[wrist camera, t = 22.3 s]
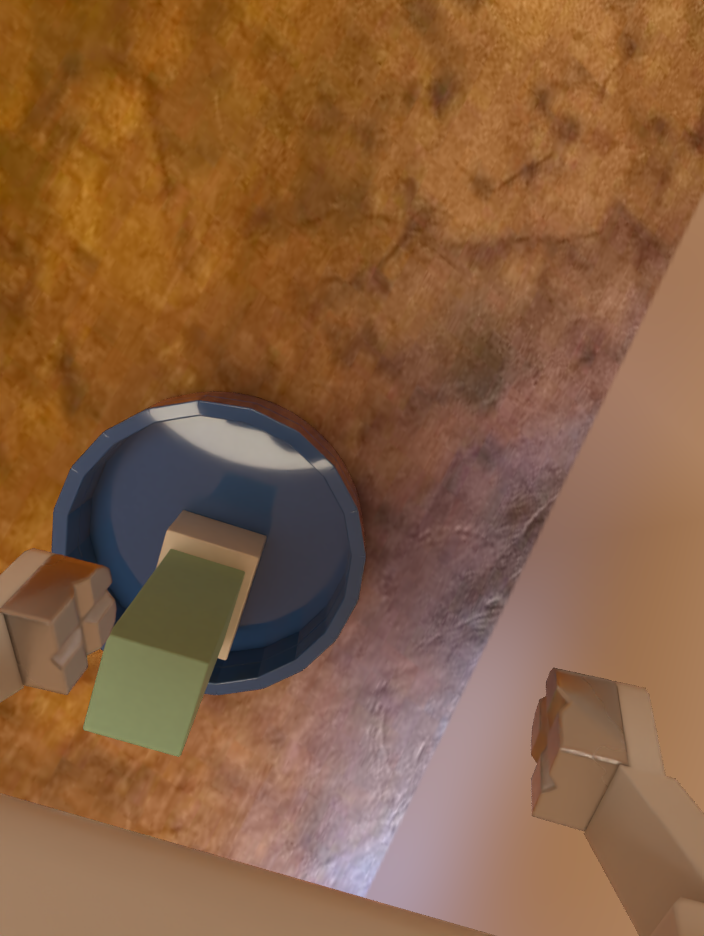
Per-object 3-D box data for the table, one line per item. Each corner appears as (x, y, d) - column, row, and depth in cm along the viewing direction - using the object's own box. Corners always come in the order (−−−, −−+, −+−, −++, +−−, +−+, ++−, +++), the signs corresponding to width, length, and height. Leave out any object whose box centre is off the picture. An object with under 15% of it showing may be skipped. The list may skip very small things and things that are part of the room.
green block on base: (267, 535, 33) (227, 647, 23) (236, 631, 34) (184, 779, 24) (182, 509, 33) (101, 610, 22) (155, 606, 34) (65, 746, 24)
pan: (384, 415, 32) (388, 429, 29) (340, 673, 36) (339, 712, 32) (89, 370, 32) (58, 378, 28) (75, 636, 35) (45, 672, 32)
